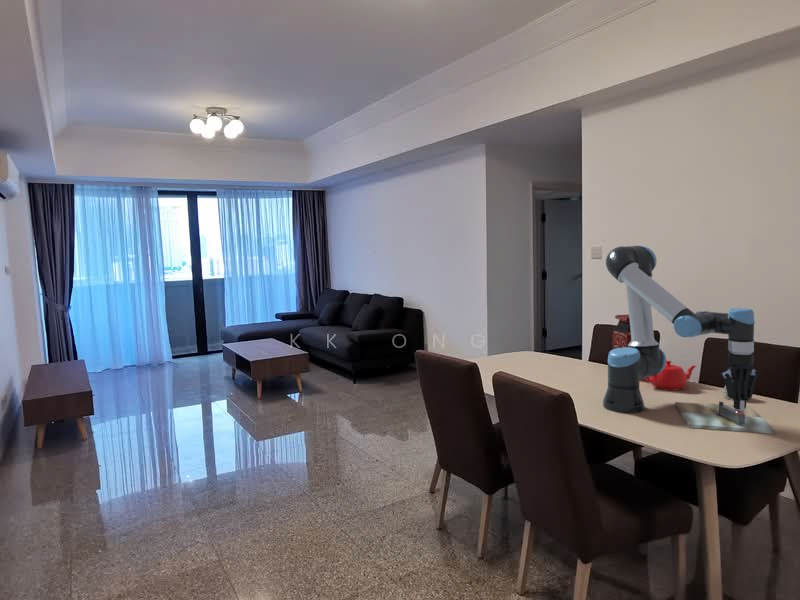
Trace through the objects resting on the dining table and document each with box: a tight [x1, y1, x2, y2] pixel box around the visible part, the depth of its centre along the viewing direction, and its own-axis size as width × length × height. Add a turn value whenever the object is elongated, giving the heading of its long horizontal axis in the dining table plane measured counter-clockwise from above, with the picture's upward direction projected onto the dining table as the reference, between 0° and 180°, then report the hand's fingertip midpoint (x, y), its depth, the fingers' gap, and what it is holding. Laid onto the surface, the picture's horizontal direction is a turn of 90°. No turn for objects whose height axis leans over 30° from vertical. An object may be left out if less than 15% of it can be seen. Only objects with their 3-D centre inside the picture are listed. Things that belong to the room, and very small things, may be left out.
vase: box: [612, 314, 631, 350], centre depth 260 cm, size 14×14×30 cm
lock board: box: [675, 401, 776, 434], centre depth 194 cm, size 26×28×6 cm
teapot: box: [644, 360, 697, 391], centre depth 238 cm, size 25×16×12 cm, turn 93°
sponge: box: [722, 380, 734, 401], centre depth 218 cm, size 9×10×10 cm
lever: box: [720, 404, 745, 424], centre depth 187 cm, size 3×11×4 cm, turn 178°
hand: (739, 417), depth 186 cm, fingers closed
